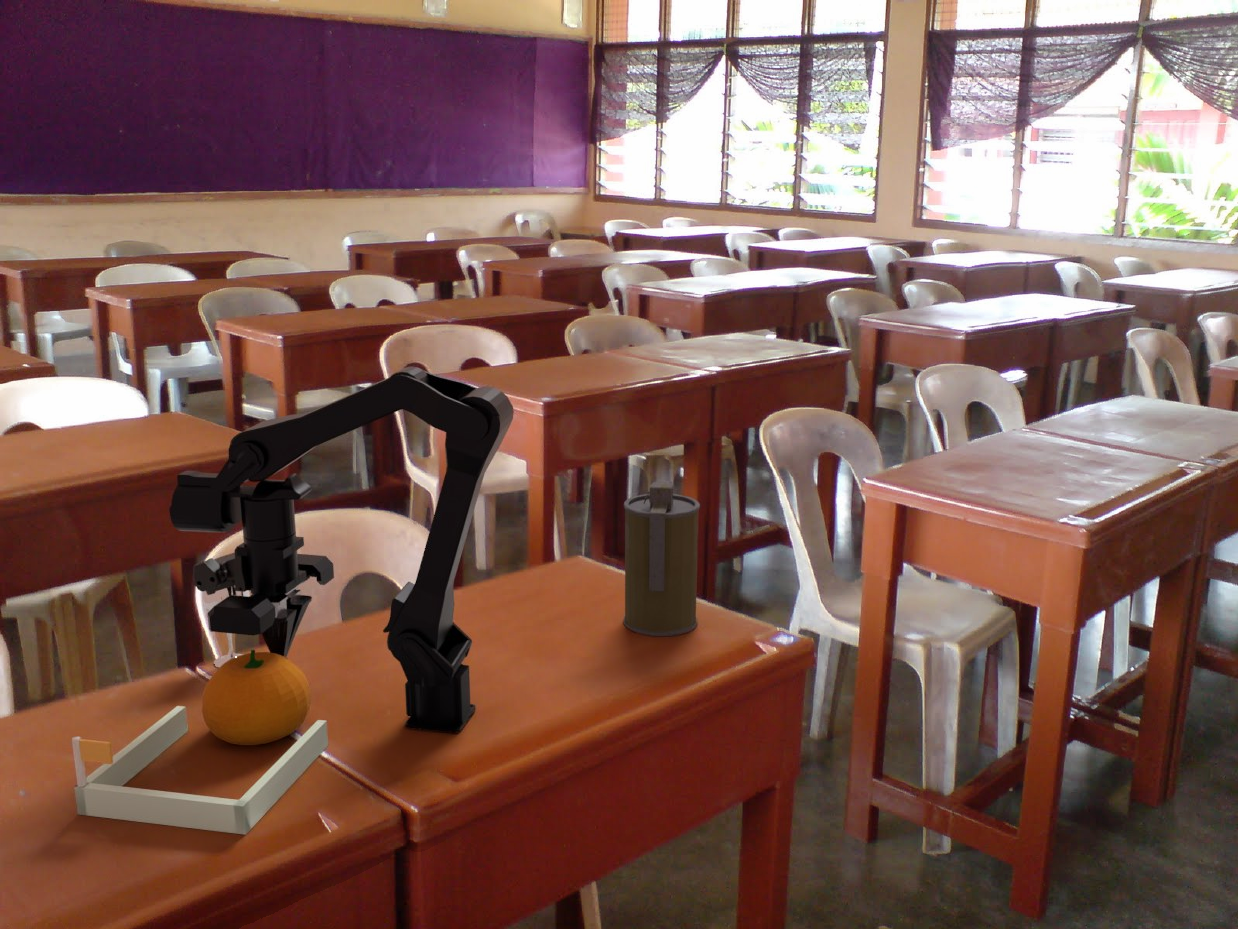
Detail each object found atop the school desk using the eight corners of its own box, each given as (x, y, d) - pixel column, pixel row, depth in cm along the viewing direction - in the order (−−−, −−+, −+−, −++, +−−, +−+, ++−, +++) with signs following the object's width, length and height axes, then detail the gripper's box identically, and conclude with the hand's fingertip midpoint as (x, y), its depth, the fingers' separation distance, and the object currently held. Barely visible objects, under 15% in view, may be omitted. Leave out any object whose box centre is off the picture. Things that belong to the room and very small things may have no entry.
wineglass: (241, 672, 146) (233, 582, 143) (199, 668, 147) (190, 579, 144) (263, 654, 152) (256, 567, 149) (223, 650, 153) (215, 564, 150)
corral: (328, 745, 128) (323, 678, 126) (245, 834, 111) (239, 758, 109) (180, 730, 131) (173, 664, 129) (77, 814, 114) (68, 740, 112)
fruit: (333, 730, 131) (328, 648, 129) (238, 768, 123) (230, 681, 120) (278, 699, 139) (272, 620, 136) (185, 732, 131) (177, 650, 128)
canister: (628, 607, 168) (629, 473, 163) (700, 610, 167) (702, 476, 162) (618, 635, 158) (618, 494, 153) (694, 640, 156) (697, 497, 151)
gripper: (247, 505, 141) (257, 624, 145) (157, 555, 124) (171, 689, 128) (331, 511, 139) (339, 632, 143) (252, 562, 121) (263, 699, 125)
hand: (279, 661), depth 135 cm, fingers closed
